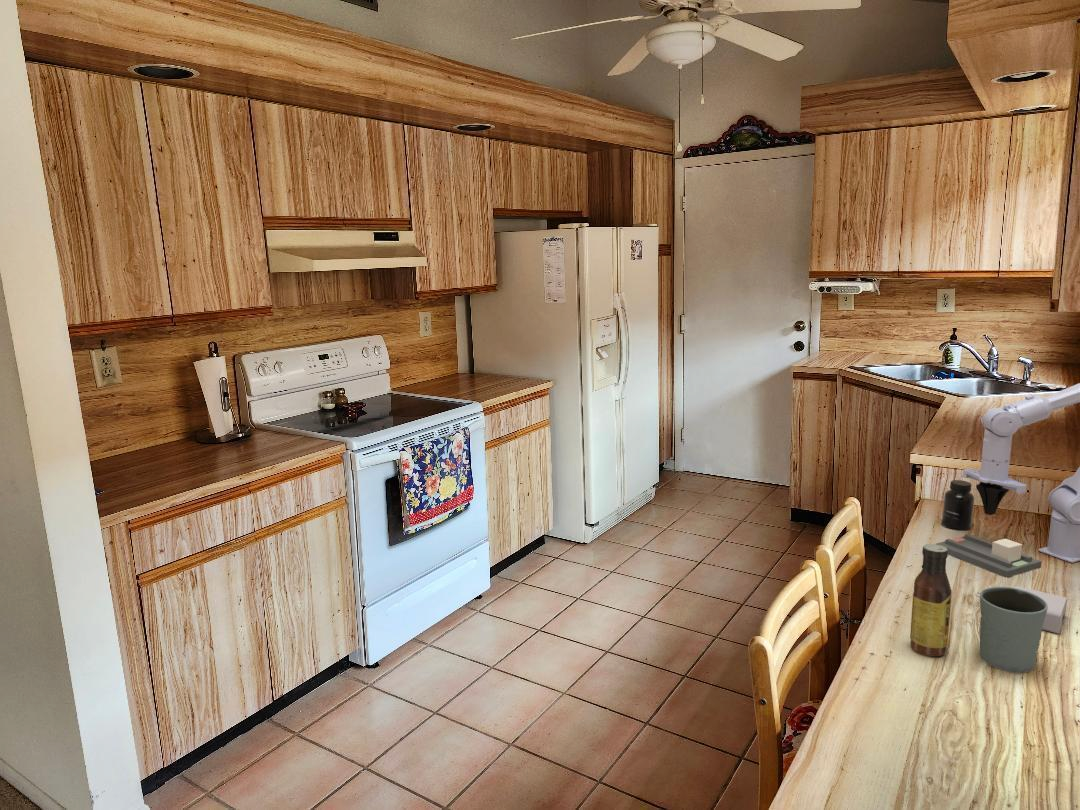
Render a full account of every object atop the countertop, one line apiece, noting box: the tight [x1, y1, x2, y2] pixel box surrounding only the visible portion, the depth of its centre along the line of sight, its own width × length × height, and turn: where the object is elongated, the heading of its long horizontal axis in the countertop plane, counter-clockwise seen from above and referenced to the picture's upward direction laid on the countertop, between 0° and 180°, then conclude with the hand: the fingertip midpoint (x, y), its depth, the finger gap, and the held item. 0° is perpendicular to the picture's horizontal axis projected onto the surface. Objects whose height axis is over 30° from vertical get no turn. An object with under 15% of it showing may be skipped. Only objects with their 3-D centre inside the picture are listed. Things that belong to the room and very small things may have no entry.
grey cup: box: [978, 586, 1048, 674], centre depth 134 cm, size 10×10×12 cm
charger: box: [974, 585, 1068, 635], centre depth 151 cm, size 5×9×15 cm
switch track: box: [935, 533, 1043, 578], centre depth 178 cm, size 12×18×2 cm, turn 24°
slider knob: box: [991, 538, 1023, 562], centre depth 174 cm, size 4×4×4 cm
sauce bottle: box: [909, 543, 953, 657], centre depth 138 cm, size 7×6×20 cm
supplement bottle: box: [941, 479, 975, 531], centre depth 197 cm, size 7×7×12 cm
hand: (989, 513), depth 181 cm, fingers closed
